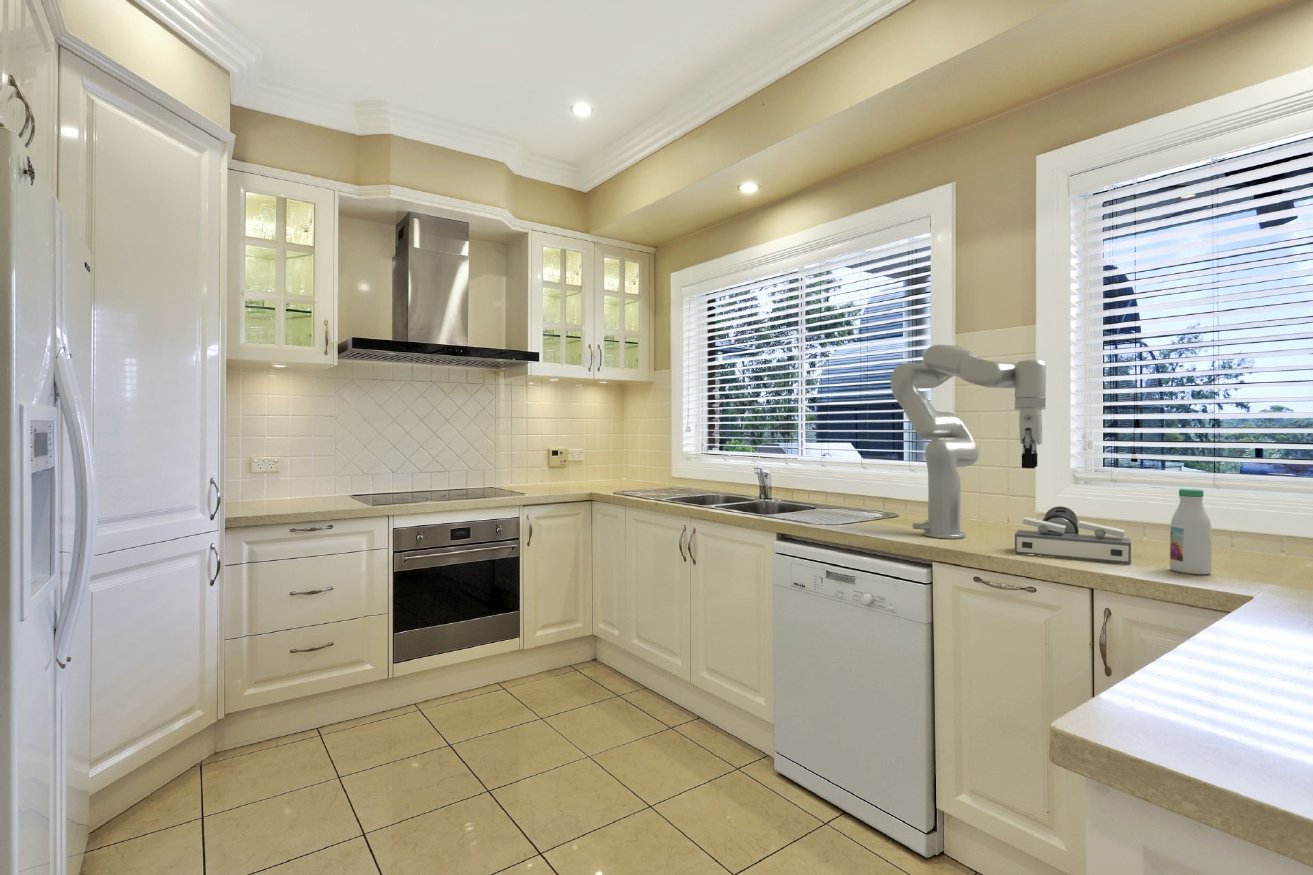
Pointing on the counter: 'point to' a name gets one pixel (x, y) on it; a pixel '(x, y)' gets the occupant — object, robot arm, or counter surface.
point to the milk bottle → (1190, 535)
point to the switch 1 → (1044, 525)
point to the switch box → (1074, 546)
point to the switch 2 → (1101, 529)
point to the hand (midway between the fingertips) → (1029, 467)
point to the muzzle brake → (1063, 519)
